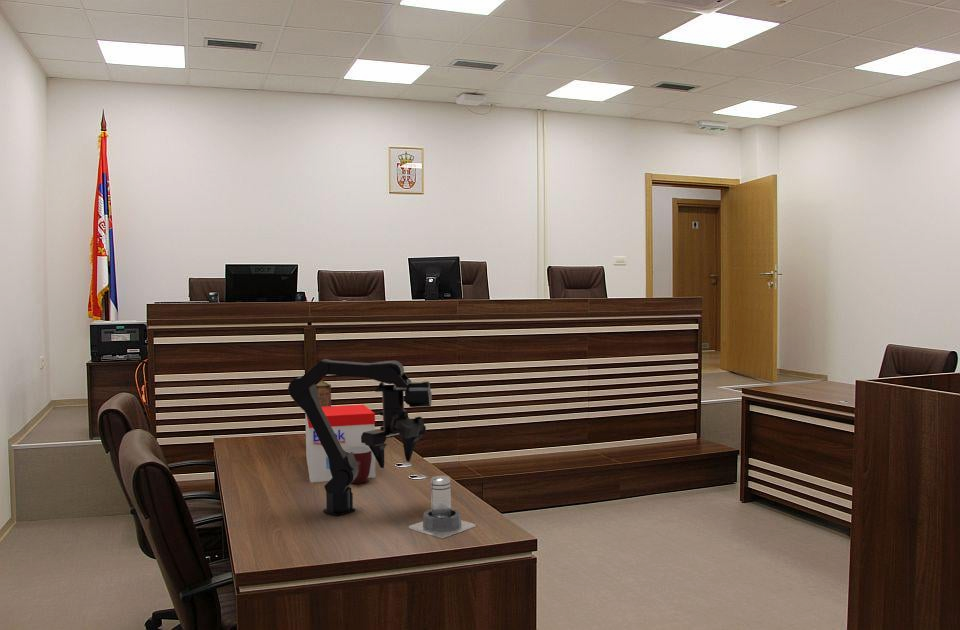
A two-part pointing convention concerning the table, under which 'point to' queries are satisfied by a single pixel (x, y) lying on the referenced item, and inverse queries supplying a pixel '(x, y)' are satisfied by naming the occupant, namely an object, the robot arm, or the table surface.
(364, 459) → the mug
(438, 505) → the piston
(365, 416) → the red-topped cereal carton
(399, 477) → the table surface
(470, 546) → the table surface
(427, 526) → the ring sleeve
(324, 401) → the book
